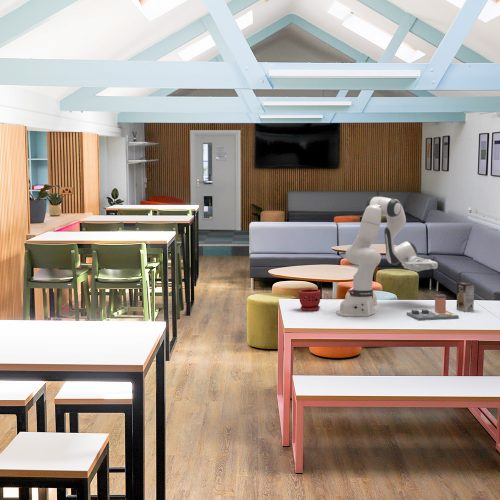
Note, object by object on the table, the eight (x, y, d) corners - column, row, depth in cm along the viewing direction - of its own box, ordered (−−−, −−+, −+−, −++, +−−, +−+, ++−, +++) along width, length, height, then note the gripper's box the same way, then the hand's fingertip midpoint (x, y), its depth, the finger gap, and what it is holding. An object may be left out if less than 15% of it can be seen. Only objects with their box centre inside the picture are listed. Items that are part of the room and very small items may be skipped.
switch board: (418, 320, 432) (418, 314, 431) (406, 314, 448) (406, 309, 448) (458, 318, 436) (458, 312, 436) (445, 312, 453) (445, 307, 453)
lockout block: (437, 313, 443) (438, 296, 442) (434, 311, 448) (434, 294, 447) (446, 313, 444) (446, 295, 443) (442, 311, 449) (442, 294, 448)
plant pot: (320, 307, 473) (320, 288, 471) (320, 312, 460) (320, 292, 458) (299, 307, 474) (299, 288, 472) (298, 311, 461) (298, 291, 459)
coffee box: (455, 309, 464) (456, 282, 463) (465, 308, 466) (465, 281, 465) (464, 311, 456) (465, 284, 454) (474, 311, 458) (474, 284, 456)
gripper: (400, 259, 473) (409, 261, 459) (432, 258, 476) (441, 261, 463) (400, 269, 473) (409, 272, 460) (431, 269, 477) (441, 271, 463)
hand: (425, 266), depth 461 cm, fingers open, 8 cm apart
